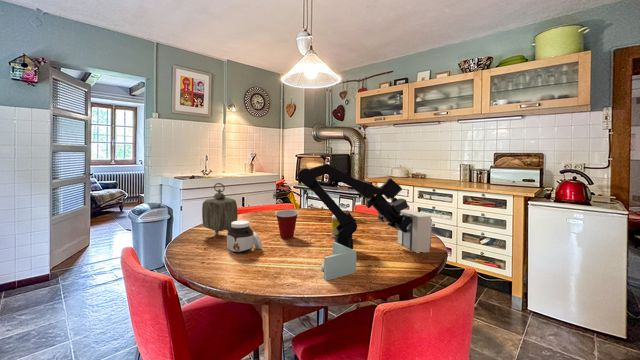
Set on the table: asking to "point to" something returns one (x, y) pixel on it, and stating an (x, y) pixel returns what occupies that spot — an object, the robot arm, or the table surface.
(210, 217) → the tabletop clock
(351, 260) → the l-shaped corner panel
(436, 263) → the table surface
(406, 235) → the light grey rectangular block
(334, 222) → the supplement bottle
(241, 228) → the spread jar
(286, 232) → the plastic cup
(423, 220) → the housing
